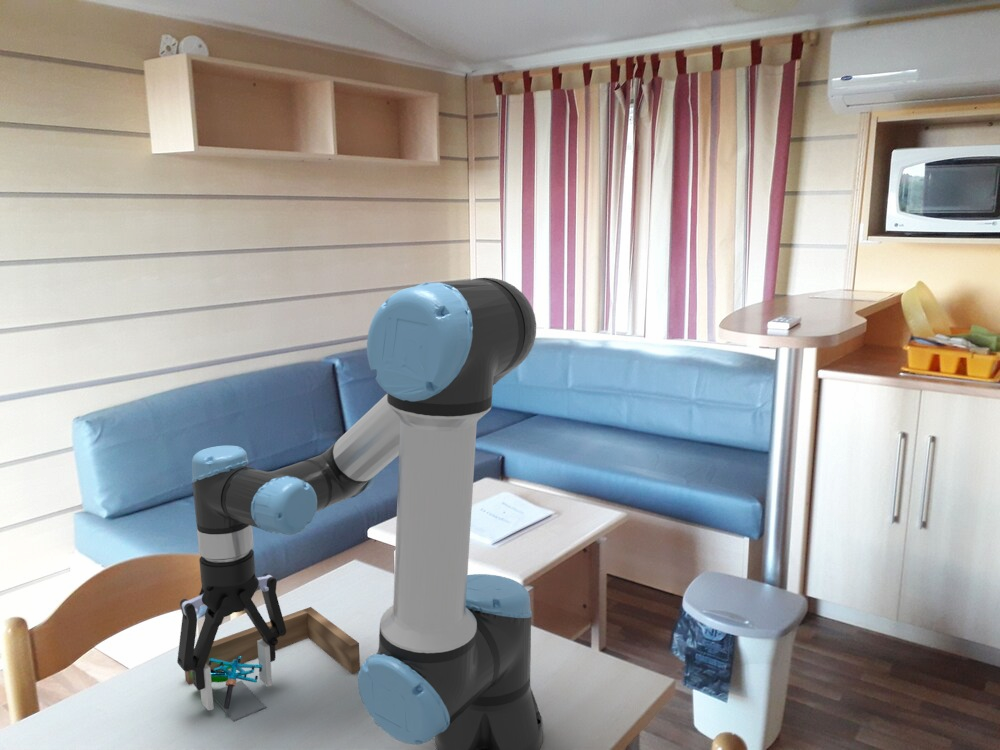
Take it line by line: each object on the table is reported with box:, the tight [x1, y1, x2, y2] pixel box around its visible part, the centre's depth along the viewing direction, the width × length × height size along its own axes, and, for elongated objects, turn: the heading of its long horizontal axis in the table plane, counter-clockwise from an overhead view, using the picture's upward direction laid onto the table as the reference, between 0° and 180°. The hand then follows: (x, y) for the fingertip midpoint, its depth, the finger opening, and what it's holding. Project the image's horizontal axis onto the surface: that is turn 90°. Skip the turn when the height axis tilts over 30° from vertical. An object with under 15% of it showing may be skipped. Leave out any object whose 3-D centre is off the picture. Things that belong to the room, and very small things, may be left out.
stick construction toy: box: [191, 656, 262, 709], centre depth 116 cm, size 12×7×8 cm
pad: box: [212, 680, 267, 722], centre depth 118 cm, size 9×5×1 cm, turn 41°
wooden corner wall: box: [184, 606, 361, 686], centre depth 124 cm, size 16×22×5 cm
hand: (237, 693), depth 118 cm, fingers closed on stick construction toy, 8 cm apart
